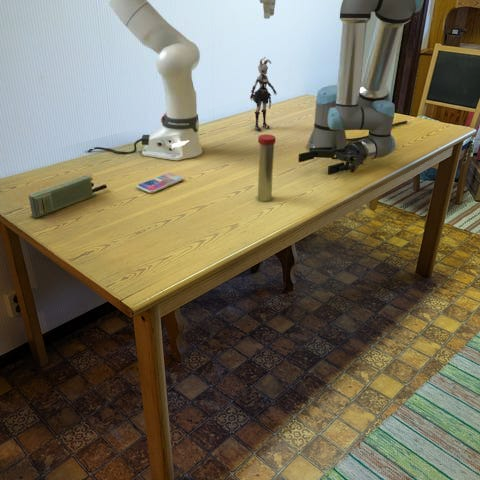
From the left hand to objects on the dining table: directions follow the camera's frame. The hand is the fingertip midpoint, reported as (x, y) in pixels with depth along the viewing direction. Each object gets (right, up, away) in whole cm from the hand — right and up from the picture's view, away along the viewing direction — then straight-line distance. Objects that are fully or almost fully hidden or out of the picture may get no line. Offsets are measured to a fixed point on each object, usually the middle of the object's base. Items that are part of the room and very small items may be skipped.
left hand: (268, 16), depth 163 cm
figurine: (0, -24, +55) cm, 60 cm away
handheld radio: (-59, -61, -12) cm, 86 cm away
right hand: (+14, -48, -1) cm, 50 cm away
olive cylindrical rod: (-2, -59, -7) cm, 59 cm away
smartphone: (-35, -54, +2) cm, 64 cm away
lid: (-1, -42, -16) cm, 45 cm away
